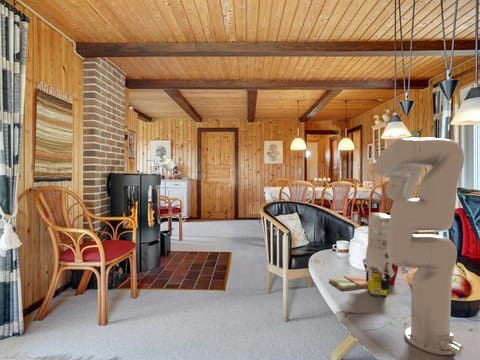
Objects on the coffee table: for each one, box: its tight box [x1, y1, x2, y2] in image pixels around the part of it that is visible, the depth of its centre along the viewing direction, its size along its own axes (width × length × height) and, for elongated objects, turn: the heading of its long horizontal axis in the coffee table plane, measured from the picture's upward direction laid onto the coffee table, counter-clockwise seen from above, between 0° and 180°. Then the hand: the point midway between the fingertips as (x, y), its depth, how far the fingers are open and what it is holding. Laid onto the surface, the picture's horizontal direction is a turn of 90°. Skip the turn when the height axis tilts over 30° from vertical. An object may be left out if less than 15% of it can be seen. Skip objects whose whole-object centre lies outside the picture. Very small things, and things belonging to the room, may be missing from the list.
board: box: [328, 275, 368, 292], centre depth 126 cm, size 10×16×2 cm, turn 106°
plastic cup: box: [388, 263, 399, 285], centre depth 129 cm, size 11×11×12 cm
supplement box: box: [367, 267, 388, 298], centre depth 117 cm, size 6×6×11 cm
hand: (377, 285), depth 117 cm, fingers closed on supplement box, 8 cm apart
